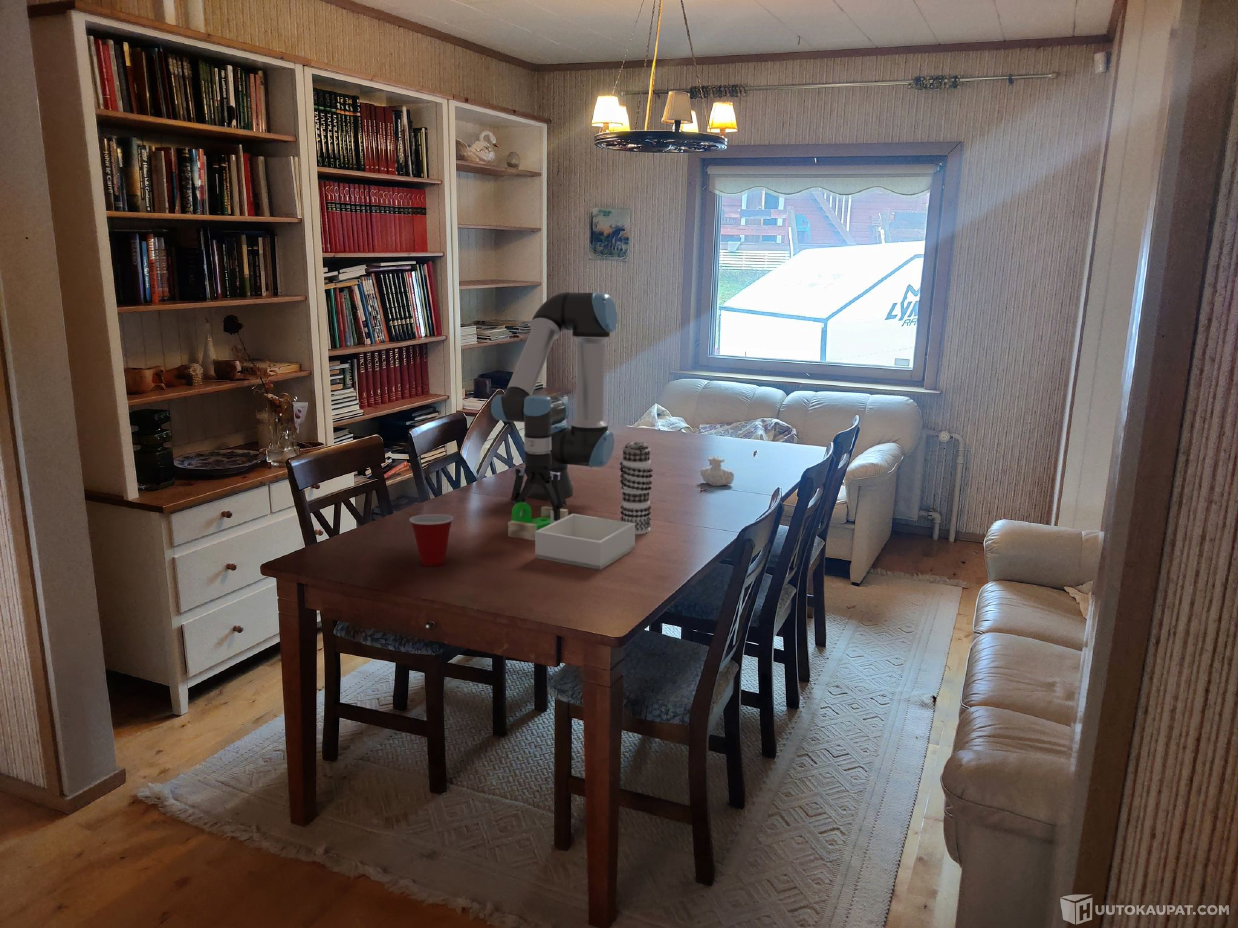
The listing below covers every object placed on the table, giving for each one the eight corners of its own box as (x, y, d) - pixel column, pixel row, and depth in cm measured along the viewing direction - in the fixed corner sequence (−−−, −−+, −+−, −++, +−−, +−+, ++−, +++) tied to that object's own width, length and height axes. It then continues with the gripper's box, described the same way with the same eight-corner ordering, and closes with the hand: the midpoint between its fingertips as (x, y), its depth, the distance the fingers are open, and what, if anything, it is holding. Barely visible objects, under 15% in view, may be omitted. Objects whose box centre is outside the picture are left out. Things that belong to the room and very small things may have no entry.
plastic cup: (457, 555, 232) (456, 510, 229) (451, 569, 222) (450, 522, 219) (415, 555, 232) (413, 510, 229) (407, 569, 221) (405, 522, 219)
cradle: (508, 536, 249) (508, 522, 248) (544, 519, 265) (544, 506, 264) (532, 540, 245) (532, 526, 244) (568, 522, 262) (568, 509, 261)
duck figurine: (699, 489, 310) (693, 468, 302) (704, 472, 314) (699, 451, 306) (732, 493, 305) (727, 472, 297) (738, 476, 310) (733, 454, 302)
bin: (535, 557, 231) (535, 531, 229) (572, 538, 247) (572, 513, 246) (600, 569, 222) (600, 542, 221) (634, 548, 239) (635, 523, 237)
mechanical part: (525, 535, 249) (525, 508, 248) (511, 531, 253) (511, 503, 252) (557, 527, 258) (557, 500, 256) (544, 522, 262) (543, 496, 260)
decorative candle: (614, 526, 258) (615, 441, 253) (644, 523, 261) (645, 439, 256) (625, 535, 250) (626, 447, 244) (656, 532, 253) (658, 445, 248)
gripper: (497, 449, 252) (498, 526, 257) (565, 458, 242) (565, 537, 247) (512, 444, 258) (513, 519, 263) (579, 453, 248) (579, 530, 253)
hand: (538, 528), depth 255 cm, fingers open, 10 cm apart
